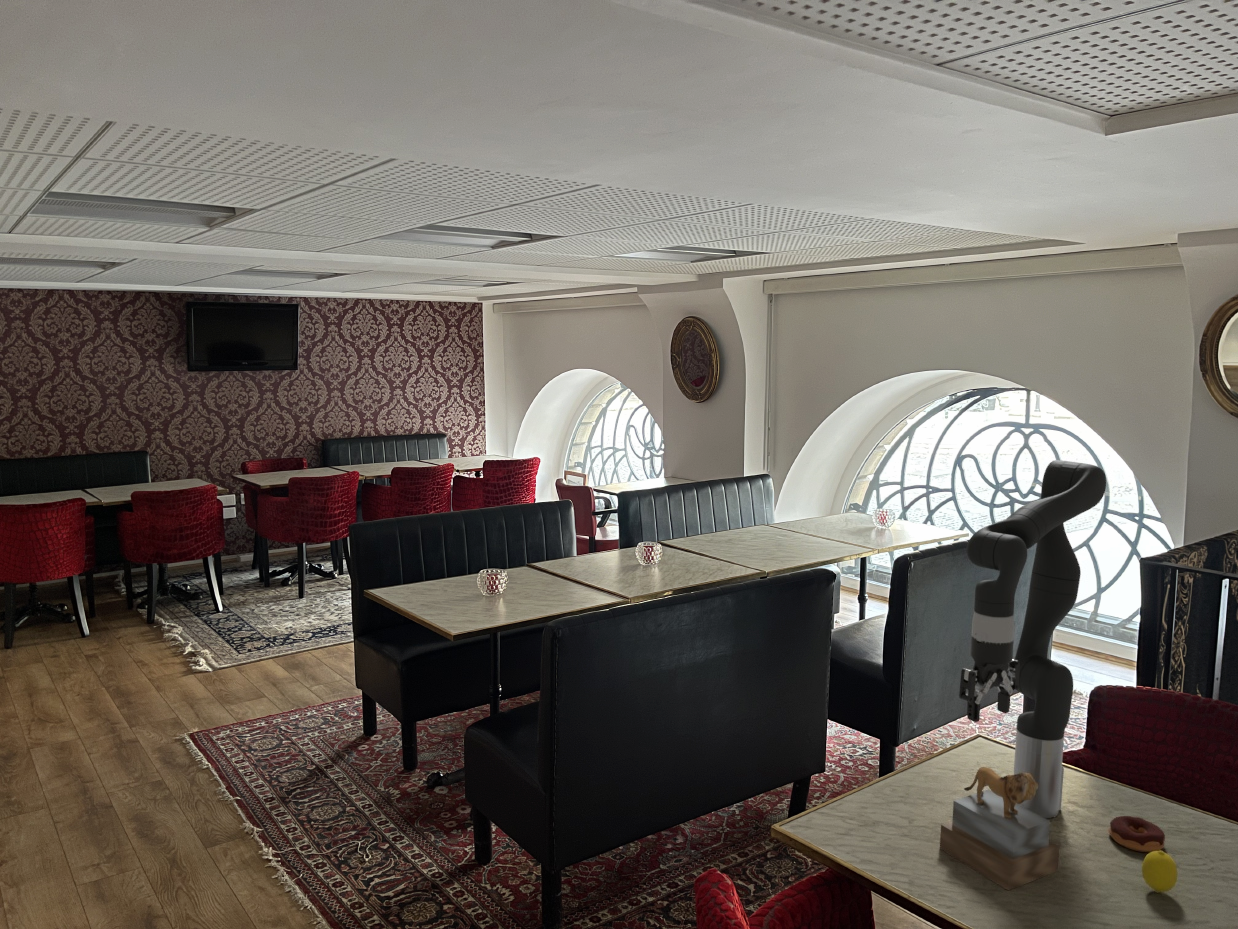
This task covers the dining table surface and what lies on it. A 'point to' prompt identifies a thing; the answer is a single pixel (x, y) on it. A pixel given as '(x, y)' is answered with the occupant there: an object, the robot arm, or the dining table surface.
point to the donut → (1137, 834)
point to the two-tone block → (1000, 841)
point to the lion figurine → (1005, 788)
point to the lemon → (1159, 871)
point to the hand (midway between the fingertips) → (988, 716)
